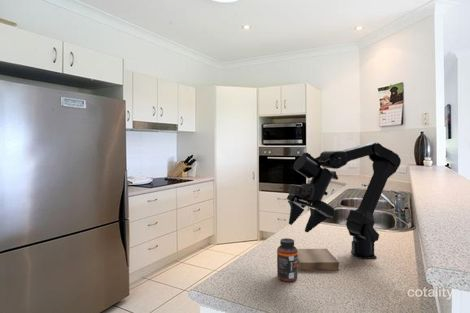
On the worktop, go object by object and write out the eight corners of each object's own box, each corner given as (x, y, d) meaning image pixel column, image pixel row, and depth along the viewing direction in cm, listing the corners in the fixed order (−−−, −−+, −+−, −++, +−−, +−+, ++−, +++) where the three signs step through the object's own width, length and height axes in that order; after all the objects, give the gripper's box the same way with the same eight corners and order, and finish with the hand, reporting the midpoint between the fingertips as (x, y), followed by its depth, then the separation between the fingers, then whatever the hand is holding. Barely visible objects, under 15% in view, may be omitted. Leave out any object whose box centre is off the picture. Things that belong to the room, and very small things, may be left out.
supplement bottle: (297, 283, 80) (297, 244, 80) (276, 281, 81) (276, 242, 81) (297, 274, 86) (297, 237, 86) (277, 272, 87) (277, 236, 87)
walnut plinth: (326, 255, 101) (326, 248, 101) (338, 270, 89) (338, 262, 89) (293, 255, 101) (293, 248, 101) (300, 270, 89) (300, 262, 89)
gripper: (285, 171, 99) (265, 211, 97) (318, 175, 82) (294, 224, 79) (308, 186, 103) (289, 224, 100) (345, 193, 85) (323, 240, 83)
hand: (297, 227), depth 91 cm, fingers open, 9 cm apart
